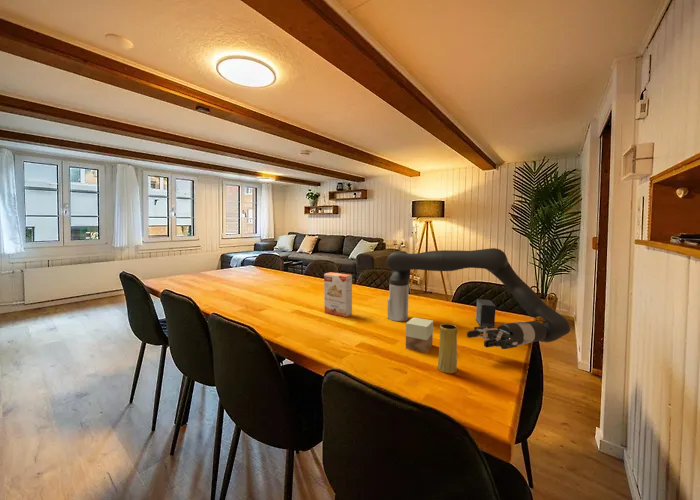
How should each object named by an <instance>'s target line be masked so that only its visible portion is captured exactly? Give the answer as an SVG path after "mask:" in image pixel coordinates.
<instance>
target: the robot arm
mask: <svg viewBox="0 0 700 500" xmlns="http://www.w3.org/2000/svg"><path fill="white" fill-rule="evenodd" d="M386 264H387V267H388V268H389V269H390V270H392V273H391V275H390V277H389V281H388V282H389V292H388V293H389V295H388V299H387V319H389V320H391V321H395V322H404V321H405V322H406V321H407V320H408V319H409V288H410V287H409V286H410V285H409V284H410V283H409V281H410V278H411V270H416V271H417V270H419V271H420V270H421V271H431V272H453V271H458V270H459V271H460V270H463V269H471V268H472V269H484V270H487V271H488V272H489V273H491V274H492V275H493V276H494V277H496V278H497V279H498V280H499V281H500V282H501V283H502V284H503V285H504V286H505V287H506V288H507V290H508V291H509V292H510V294H511V295H512V296H513V297H514V299H515V300H516V302H518V304H519V305H520V307H521V308H522V309H523V310H524V311H525V312H526V313H527V315H528V316H529V317H530V318H538V317H541V318H542V319H544V321H542V322H540V321H536V320H530V321H515V322H506V323H502V324H500V325H499V326H498V327H497V328H496V327H494V328H490V326H479V325H478V326H474V327H473V330H467V332H466V337H467V338H468V339H471V338H478V337H479V338H482V339H484V341H483V347H485V348H487V349H488V348H493V347H495V348H500V347H501V348H500V349H501V350H508V349H513V348H517V347H518V346H523V345H527V344H529V343H536V342H540V343H551V342H554V341H557V340H559V339H561V338H563V337H564V336H566V335H567V334H569V333H570V331H571V324H570V322H569V321H568V320H567V319H566V318H565V316H563V315H562V314H560V313H558V312H557V311H555V310H554V309H553V308H552V307H550V306H549V305H547V304H546V303H545V302H544V301H543V299H542V298H541V297H540V296H539V295H538V294H537V293H536V292H535V291H534V289H532V288H531V287H530V286H529V285H528V284H527V283H526V282H525V281H524V280H522V278H520V276H519V275H518V274H517V272H515V271H514V269H513V268H512V265H511V264H510V262H509V260H508V257H507V255H506V253H505V252H504V251H503V250H502V249H500V248H495V247H494V248H493V247H492V248H484V249H483V248H482V249H475V250H458V249H457V250H448V249H447V250H431V251H424V252H423V251H422V252H417V253H408V252H407V251H405V250H398V251H394V252H392V253H391V254H389V255H388V256H387V259H386ZM408 321H409V320H408ZM486 335H487V336H486Z"/></svg>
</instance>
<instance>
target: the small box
mask: <svg viewBox="0 0 700 500" xmlns="http://www.w3.org/2000/svg"><path fill="white" fill-rule="evenodd" d="M496 308H497V306H496V305H495V303H494V302H492V300H490V299H480V298H479V299H478V298H477V299H476V311H475V313H476V314H475V321H476V323H477V325H478V327H479V326H490V329H493V328H495V326H496V325H495V322H496Z"/></svg>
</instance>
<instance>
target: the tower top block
mask: <svg viewBox="0 0 700 500" xmlns="http://www.w3.org/2000/svg"><path fill="white" fill-rule="evenodd" d="M433 333H434V320H431V319H426V318H419V317H412V318H411V319H409V320H408V321H407V322H406V323H405V337H406V336H408V337H413V338H418V339H423V340H428V338H429V337H430V336H431V335H432V334H433ZM433 335H434V334H433Z"/></svg>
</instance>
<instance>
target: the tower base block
mask: <svg viewBox="0 0 700 500" xmlns="http://www.w3.org/2000/svg"><path fill="white" fill-rule="evenodd" d="M433 337H434V334H432V335H431V336H430V337H429V338H428V340H423V339H418V338H413V337H408V336H406V335H405V349H407V350H412V351H416V352H419V353H420V352H421V353H428V352H429V351H430V349H431V347H433Z"/></svg>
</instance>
